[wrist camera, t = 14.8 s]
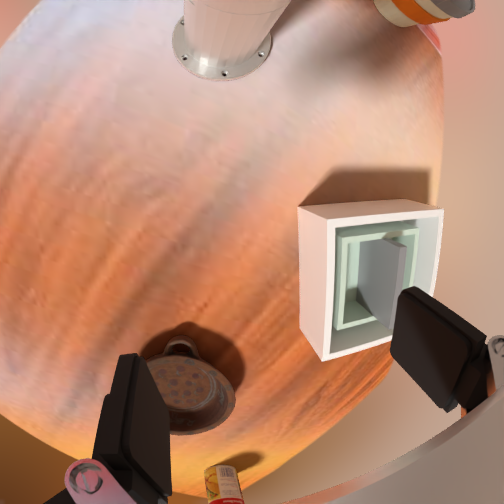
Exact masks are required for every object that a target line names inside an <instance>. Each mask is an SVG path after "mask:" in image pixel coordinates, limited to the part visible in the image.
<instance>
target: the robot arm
mask: <svg viewBox="0 0 504 504" xmlns="http://www.w3.org/2000/svg"><path fill="white" fill-rule="evenodd" d="M290 2H291V0H184V15H183V16H182V17H181V19H180V20H179V21H178V23H177V24H176V26H175V29H174V31H173V36H172V46H173V50H174V54H175V56H176V58H177V60H178V61H179V63H180V64H181V65H182V66H183V67H184V68H185V69H186V70H188V71H189V72H190V73H192V74H194V75H196V76H198V77H201V78H204V79H207V80H213V81H229V80H235V79H239V78H241V77H244V76H246V75H248V74H250V73H252V72H253V71H255V70H256V69H257V68H258V67H259V66H260V65H261V64H262V63H263V62H264V60H265V59H266V57H267V56H268V53H269V50H270V46H271V35H270V30H271V28H272V27H273V25H274V24H275V22H276V21H277V20H278V18H279V17H280V15H281V14H282V13H283V11H284V10H285V9H286V7H287V6H288V4H289V3H290ZM183 24H184V25H183ZM258 55H261V57H260V56H258ZM184 58H186V59H187V60H183V59H184ZM222 74H226V76H225V77H224V76H222ZM486 337H487V336H486V335H485V334H484V333H482V332H481V331H480V330H478V329H477V328H475V327H474V326H473V325H471V324H470V323H469V322H467V321H466V320H464V319H463V318H462V317H460V316H459V315H457V314H456V313H455V312H453V311H452V310H450V309H448V308H447V307H446V306H445V305H443V304H442V303H440V302H439V301H437V300H436V299H434V298H433V297H431V296H430V295H429V294H427V293H426V292H424V291H423V290H421V289H420V288H418V287H416V286H412V287H409V288H406V289H403V290H402V291H401V293H400V295H399V296H398V299H397V308H396V315H395V322H394V329H393V335H392V341H391V347H390V353H391V355H392V357H393V358H394V359H395V360H396V361H397V362H398V364H399V365H400V366H401V367H402V368H403V369H404V370H405V371H406V372H407V373H408V374H409V375H410V376H411V377H412V379H413V380H414V381H415V382H416V383H417V384H418V385H419V386H420V387H421V388H422V390H423V391H424V392H426V394H427V395H428V396H429V397H430V398H431V399H432V401H434V403H435V404H436V405H437V406H438V407H439V408H443V409H444V410H445V411H446V412H447V413H448V412H450V411H451V410H452V409H454V408H455V407H457V405H458V403H459V404H460V405H461V419H460V420H458V421H457V422H455V423H454V424H453V425H451V426H450V427H448V428H447V429H446V430H444V431H442V432H441V433H439V434H438V435H436V436H435V437H433V438H432V439H430V440H428V441H427V442H425V443H423V444H422V445H420V446H419V447H417V448H415V449H414V450H411V451H410V452H408V453H406V454H404V455H402V456H401V457H399V458H397V459H395V460H393V461H391V462H389V463H387V464H385V465H383V466H381V467H379V468H377V469H375V470H373V471H370V472H368V473H366V474H364V475H362V476H359V477H357V478H355V479H352V480H350V481H347V482H345V483H342V484H340V485H337V486H335V487H332V488H329V489H326V490H323V491H320V492H317V493H314V494H311V495H309V496H305V497H302V498H299V499H295V500H291V501H288V502H284V503H280V504H504V336H502V335H498V336H494V337H492V338H491V339H490V340H489V342H488V344H487V345H486V344H485V340H486ZM65 485H66V488H65V489H64V490H63V491H61V492H60V493H58V494H57V495H55V496H54V497H53V498H51V499H49V500H48V501H47V502H45V503H44V504H168V499H167V496H171V495H172V482H171V461H170V416H169V411H168V408H167V406H166V404H165V402H164V400H163V398H162V396H161V394H160V392H159V390H158V388H157V385H156V383H155V381H154V379H153V377H152V375H151V372H150V370H149V368H148V366H147V363H146V361H145V359H144V357H139V356H138V354H137V353H132V354H124V355H120V356H119V359H118V363H117V367H116V371H115V375H114V379H113V383H112V387H111V391H110V394H107V395H106V396H105V398H104V401H103V406H102V410H101V414H100V419H99V423H98V428H97V433H96V438H95V444H94V449H93V455H92V459H89V458H86V459H80V460H78V461H76V462H74V463H73V464H72V465H71V466H70V467H69V468H68V470H67V471H66V475H65Z"/></svg>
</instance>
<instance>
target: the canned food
mask: <svg viewBox="0 0 504 504" xmlns="http://www.w3.org/2000/svg"><path fill="white" fill-rule="evenodd" d="M204 477H205V484H206V491H207V497H208V503H209V504H244V500H243V496H242V492H241V488H240V484H239V480H238V475H237V471H236V469H235V468H234V467H232V466H229V465H216V466H212V467H209V468H207V469H206V470H205V471H204Z"/></svg>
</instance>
